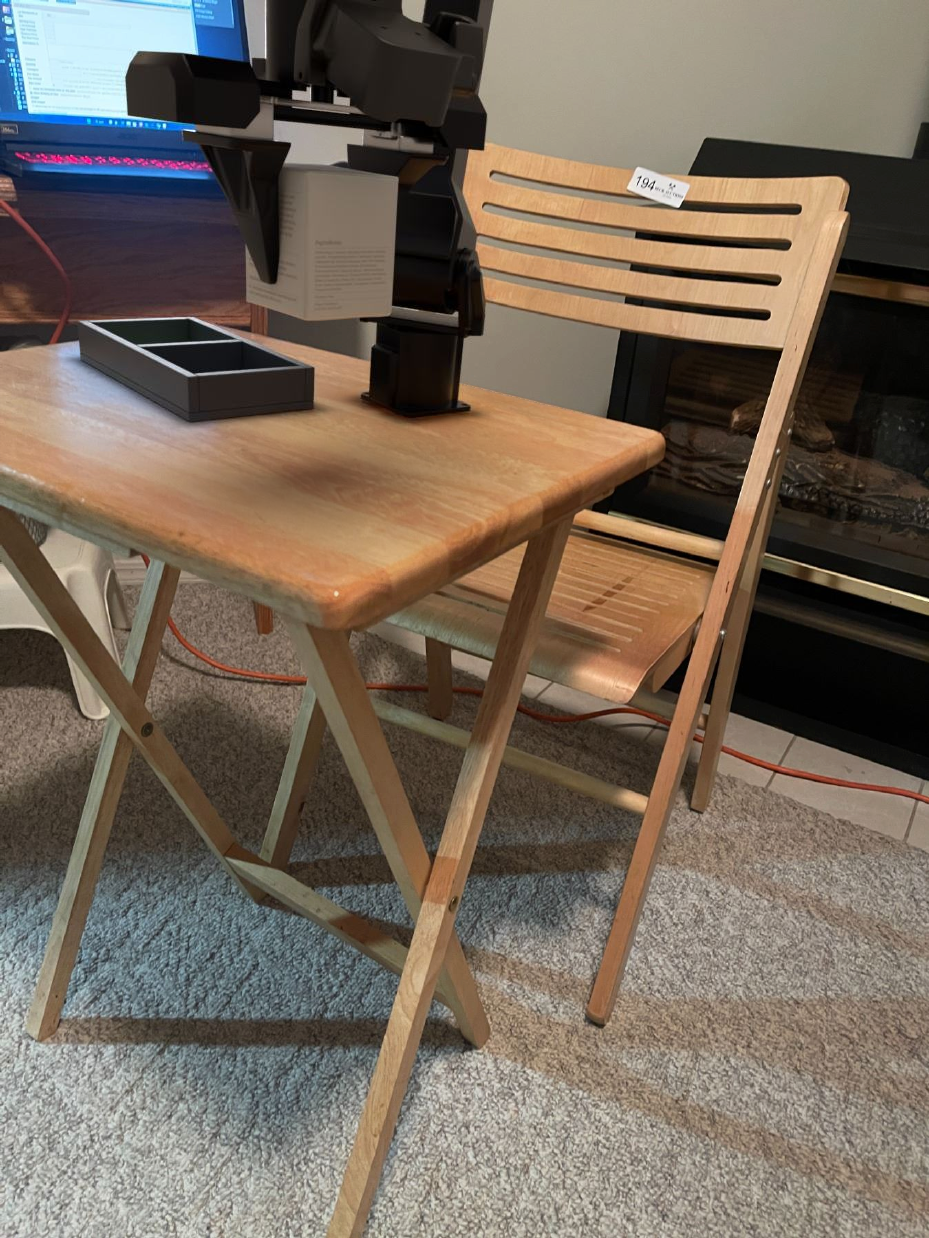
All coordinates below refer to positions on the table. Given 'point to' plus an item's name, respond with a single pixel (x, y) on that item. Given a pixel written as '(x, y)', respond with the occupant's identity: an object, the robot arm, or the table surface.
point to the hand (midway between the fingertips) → (318, 282)
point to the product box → (331, 244)
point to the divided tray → (196, 367)
